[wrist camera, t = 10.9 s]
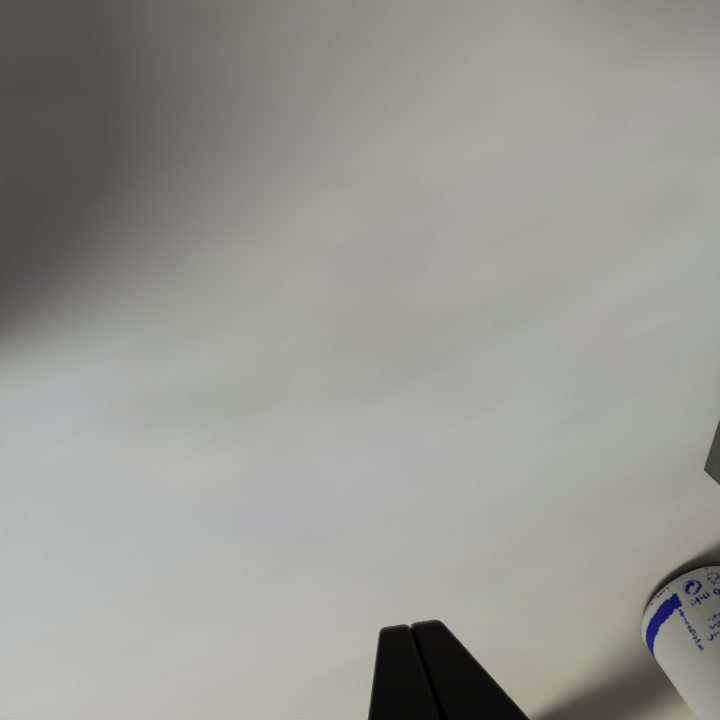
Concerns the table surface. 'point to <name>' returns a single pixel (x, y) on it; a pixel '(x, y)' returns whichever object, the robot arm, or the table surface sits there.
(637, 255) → the table surface
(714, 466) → the grey square frame stand
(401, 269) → the table surface
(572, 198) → the table surface
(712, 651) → the beverage can
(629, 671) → the table surface
